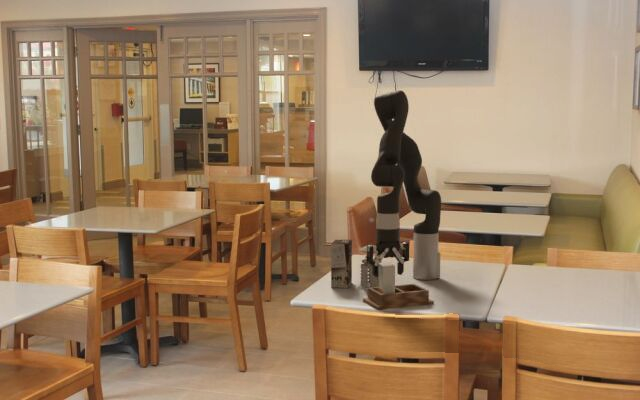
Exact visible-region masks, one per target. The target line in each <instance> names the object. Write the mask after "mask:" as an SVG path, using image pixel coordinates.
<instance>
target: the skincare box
mask: <svg viewBox="0 0 640 400" xmlns="http://www.w3.org/2000/svg"><path fill="white" fill-rule="evenodd" d="M395 285H396V265H394V263H392V262H387V261H386V262H381V263H379V292H380V293H382V294H390V293H395Z"/></svg>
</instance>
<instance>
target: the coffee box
mask: <svg viewBox="0 0 640 400" xmlns="http://www.w3.org/2000/svg"><path fill="white" fill-rule="evenodd" d="M352 242H353V240H352V239H334V240H333V241H332V242H331V243H330V248H331V249H330V257H331V258H330V279H331V280H330V287H331V288H339V289H348V288H349V287H350V286H351V285H352V283H353V276H352V275H353V272H352V271H353V269H352V268H353V267H352V266H353V258H352V257H353V254H352V252H353V250H352V249H353V248H352V247H353V246H352V245H353V243H352Z"/></svg>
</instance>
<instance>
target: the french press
mask: <svg viewBox="0 0 640 400" xmlns="http://www.w3.org/2000/svg"><path fill="white" fill-rule="evenodd" d="M368 221H369V223H373V222H376V221H375V218H373V217H370V218H369V219H368ZM370 245H371V246H376V244H375V245H374V244H370ZM367 246H368V245H365V246H363V247H361V248H360V252H361V253H366V254H367ZM376 253H377V250H376V249H375V251H374V252H373V254H376ZM366 258H367V255H365V258H364V259H362V260H361V262H362V263H361V264H360V284H359V285H358V286H357V289H359V290H361V291H367V292H368V288H373V287H379V264H378V265H377V266H378V277H374V275H373V274H372V265H370V264H368V263H367V262H366ZM379 263H383V260H381V261H380V262H379Z"/></svg>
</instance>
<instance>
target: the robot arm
mask: <svg viewBox="0 0 640 400" xmlns="http://www.w3.org/2000/svg"><path fill="white" fill-rule="evenodd" d="M408 100H409V99H408V96H407V95H406V93H405V92H404V91H403V90H393V91H389V92H385V93H381V94H378V95H376V96H375V97H374V99H373V105H374V110H375V114H376V116H377V118H378V121H379V122H380V125H381V126H382V128H383V131H384V133H383V134H382V136H381V138H380V142H379V148H378V157H377V160H376V162H375V164H374V165H373V168H372V170H371V175H370V180H371V182H372V184H373V185H374V186H375V187H381V188H382V187H383V188H384V187H388V188H389V187H392V188H393V189H392V190H391V191H390V192H386V193H382V194H379V195H378V196H377V198H376V218H375V219H376V221H375V222H376V223H375V227H376V228H375V229H376V235H375V236H376V237H375V238H376V240H375V241H376V243H375V246H371V245H372V244H368V245H366V246H367V253H366V256H367V258H366V262H367V263H368V264H370V265H372V274H373V275H374V277H378V266H377V265H378V264H379V262H380V261H383V259H388V258H395V260H396V261H397V264H396V265H397V268H396V269H397V275H399V276H402V275H403V274H404V272H405V271H404V270H405V269H404V264H405V263H406V262H409V261H410V251H409V250H410V247H409V243H407V242H405V241H404V242H402V243H400V239H401V238H400V236H401V234H400V233H401V231H400V225H401V221H400V196H401V190H402V188H403V186H404V189H405V193H406V198H407V203H408V205H409V208H410V210H411V211H412V212H413V213H415V214H418V215H425V217H424V220H423V221H421V222H418V223H415V224H414V225H413V253H412V255H413V256H412V257H413V259H412V260H413V262H412V264H413V265H412V266H413V267H412V268H413V271H412V275H413V276H412V277H413V279H416V280H421V281H422V280H424V281H425V280H427V281H429V280H436V279H440V278H441V252H439V230H440V225H441V212H442V211H441V210H442V197H441V194H440V193H439V192H438V190H434V189H424V188H423V189H422V188H421V186H420V183H419V179H418V177H419V174H420V171H421V168H422V164H423V158H422V155H421V152H420V151H421V150H420V148H419V146H418V143H416V141H415V140H414V139H413V138H412V137H411V136H410V135H408V134H406V133H405V132H404V131H405V127H406V123H407V119H408V115H409V108H410V107H409V101H408ZM375 249H376V250H377V253H375V255H374V253H373V252H374V251H375ZM399 250H401V251H402V255H401V254H400V252H399Z"/></svg>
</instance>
